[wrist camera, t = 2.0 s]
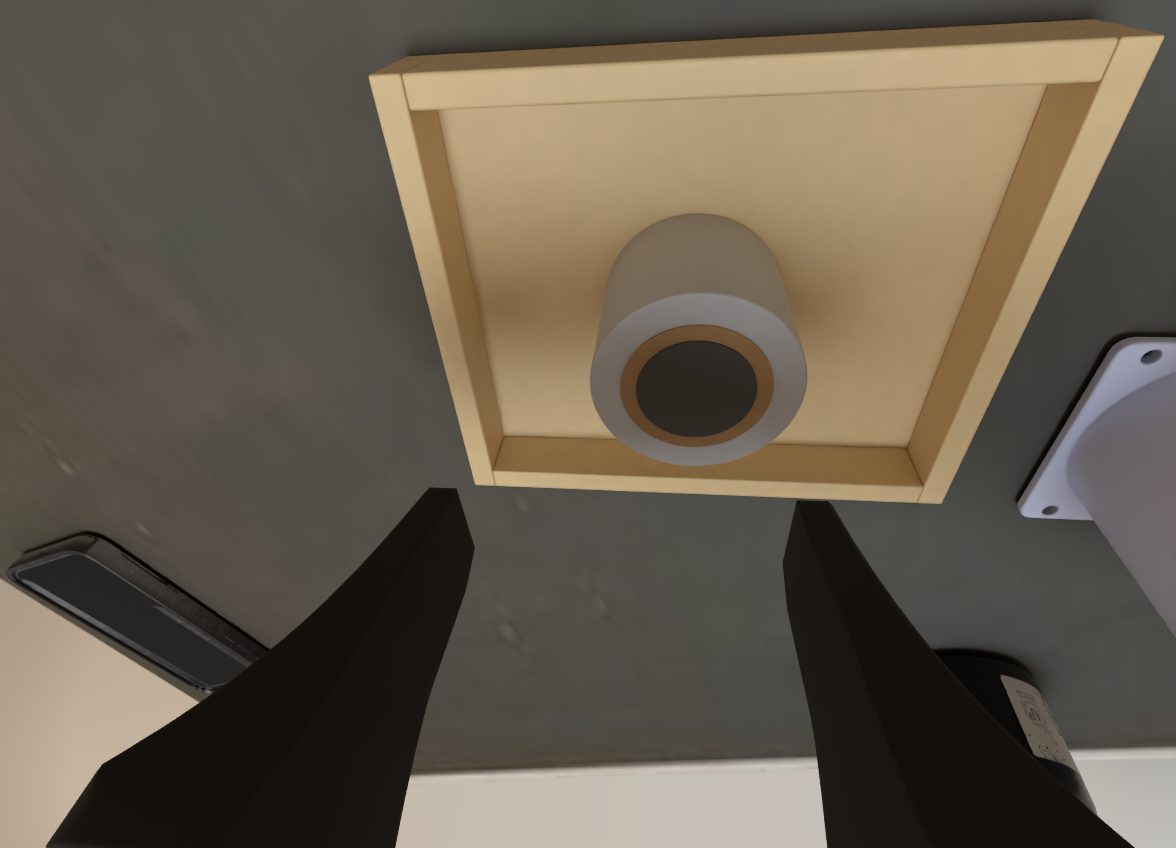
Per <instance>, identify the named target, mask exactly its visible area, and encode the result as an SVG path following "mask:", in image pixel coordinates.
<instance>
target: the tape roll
mask: <svg viewBox="0 0 1176 848" xmlns="http://www.w3.org/2000/svg"><path fill="white" fill-rule="evenodd" d="M807 379H808V376H807V364H806V359H805V355H804V351H803V348H802V345H801V341H800V338H799V334H798V331H797V328H796V324H795V321H794V318H793V314H792V311H791V308H790V304H789V301H788V298H787V294H786V291H785V288H784V284H783V281H782V278H781V274H780V271H779V268H778V265H777V263H776V260H775V258H774V256H773V254H772V252H771V251H770V249H769V248H768V246H767V245H766V244H765V243H764V242H763V240H762V239H761V238H760V237H758V236H757V235H756V234H755V233H754V232H753V231H751V230H750V229H748V228H747V227H745V226H744V225H741V224H739V223H737V222H735V221H733V220H730V219H727V218H724V217H720V216H715V215H708V214H690V215H682V216H677V217H672V218H669V219H666V220H663V221H661V222H658V223H656V224H654V225H652V226H650V227H648V228H647V229H645V230H644V231H642V232H641V233H639V234H638V235H637V236H636V237H635V238H633V239H632V240H631V241H630V242H629V243H628V244H627V245H626V247H625V248H624V249H623V250H622V251H621V253H620V254H619V256H618V257H617V259H616V261H615V263H614V265H613V267H612V269H611V272H610V275H609V278H608V282H607V287H606V292H605V298H604V303H603V308H602V313H601V319H600V324H599V329H598V335H597V340H596V345H595V350H594V356H593V361H592V366H591V372H590V390H591V397H592V400H593V403H594V406H595V409H596V411H597V413H598V415H599V417H600V419H601V420H602V422H603V423H604V425H605V426H606V427H607V429H608V430H609V431H610V432H611V433H612V434H613V435H614V436H615V437H616V438H617V439H618V440H620V441H621V442H622V443H623V444H625V445H626V446H628V447H629V448H631V449H632V450H634V451H636V452H638V453H640V454H642V455H644V456H647V457H649V458H652V459H655V460H658V461H662V462H665V463H671V464H677V465H688V466H703V465H713V464H719V463H724V462H729V461H732V460H735V459H739V458H741V457H744V456H746V455H749V454H751V453H753V452H755V451H757V450H759V449H761V448H762V447H764V446H765V445H767V444H768V443H770V442H771V441H773V440H774V439H775V438H776V437H777V436H778V435H780V434H781V433H782V432H783V431H784V430H785V429H786V427H787V426H788V425H789V424H790V423H791V421H792V420H793V418H794V417H795V415H796V414H797V412H798V410H799V408H800V406H801V404H802V402H803V399H804V395H805V392H806V387H807Z"/></svg>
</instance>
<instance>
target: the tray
mask: <svg viewBox="0 0 1176 848" xmlns="http://www.w3.org/2000/svg"><path fill="white" fill-rule="evenodd" d="M1163 39H1164V35H1162V34H1158V33H1153V32H1149V31H1145V30H1140V29H1136V28H1132V27H1127V26H1123V25H1118V24H1114V23H1110V22H1104V21H1100V20H1096V19H1086V20H1067V21H1049V22H1030V23H1012V24H993V25H975V26H956V27H938V28H920V29H901V30H883V31H864V32H846V33H827V34H809V35H790V36H772V37H754V38H735V39H717V40H698V41H680V42H661V43H643V44H624V45H606V46H588V47H569V48H551V49H532V50H514V51H495V52H477V53H458V54H440V55H422V56H407V57H405V58H403V59H401V60H399V61H397V62H395V63H393V64H391V65H389V66H387V67H385V68H383V69H381V70H379V71H377V72H374V73H372V74H370V75H369V81H370V84H371V88H372V92H373V96H374V100H375V104H376V107H377V111H378V115H379V119H380V123H381V126H382V130H383V134H384V138H385V142H386V146H387V149H388V153H389V157H390V161H391V165H392V168H393V172H394V176H395V180H396V184H397V187H398V191H399V195H400V199H401V203H402V207H403V210H404V214H405V218H406V222H407V226H408V229H409V233H410V237H411V241H412V245H413V249H414V252H415V256H416V260H417V264H418V268H419V271H420V275H421V279H422V283H423V287H424V291H425V294H426V298H427V302H428V306H429V310H430V313H431V317H432V321H433V325H434V329H435V333H436V336H437V340H438V344H439V348H440V352H441V355H442V359H443V363H444V367H445V371H446V374H447V378H448V382H449V386H450V390H451V394H452V397H453V401H454V405H455V409H456V413H457V416H458V420H459V424H460V428H461V432H462V436H463V439H464V443H465V447H466V451H467V455H468V458H469V462H470V466H471V470H472V474H473V478H474V481H475V484H476V485H491V486H494V485H495V484H496V485H497V486H518V487H542V488H567V489H592V490H616V491H641V492H665V493H690V494H714V495H739V496H764V497H788V498H813V499H837V500H862V501H887V502H911V503H916V502H918V503H932V504H941V503H942V501H943V499H944V497H945V495H946V493H947V491H948V489H949V487H950V485H951V482H952V480H953V478H954V476H955V474H956V472H957V470H958V468H959V466H960V464H961V462H962V459H963V457H964V455H965V453H966V451H967V449H968V447H969V445H970V443H971V441H972V439H973V436H974V434H975V432H976V430H977V428H978V426H979V424H980V422H981V420H982V418H983V416H984V413H985V411H986V409H987V407H988V405H989V403H990V401H991V399H992V397H993V395H994V392H995V390H996V388H997V386H998V384H999V382H1000V380H1001V378H1002V376H1003V374H1004V372H1005V369H1006V367H1007V365H1008V363H1009V361H1010V359H1011V357H1012V355H1013V353H1014V351H1015V349H1016V346H1017V344H1018V342H1019V340H1020V338H1021V336H1022V334H1023V332H1024V330H1025V328H1026V326H1027V323H1028V321H1029V319H1030V317H1031V315H1032V313H1033V311H1034V309H1035V307H1036V305H1037V303H1038V300H1039V298H1040V296H1041V294H1042V292H1043V290H1044V288H1045V286H1046V284H1047V282H1048V280H1049V277H1050V275H1051V273H1052V271H1053V269H1054V267H1055V265H1056V263H1057V261H1058V259H1059V257H1060V254H1061V252H1062V250H1063V248H1064V246H1065V244H1066V242H1067V240H1068V238H1069V236H1070V234H1071V231H1072V229H1073V227H1074V225H1075V223H1076V221H1077V219H1078V217H1079V215H1080V213H1081V211H1082V208H1083V206H1084V204H1085V202H1086V200H1087V198H1088V196H1089V194H1090V192H1091V190H1092V188H1093V185H1094V183H1095V181H1096V179H1097V177H1098V175H1099V173H1100V171H1101V169H1102V167H1103V165H1104V162H1105V160H1106V158H1107V156H1108V154H1109V152H1110V150H1111V148H1112V146H1113V144H1114V141H1115V139H1116V137H1117V135H1118V133H1119V131H1120V129H1121V127H1122V125H1123V123H1124V121H1125V118H1126V116H1127V114H1128V112H1129V110H1130V108H1131V106H1132V104H1133V102H1134V100H1135V98H1136V95H1137V93H1138V91H1139V89H1140V87H1141V85H1142V83H1143V81H1144V79H1145V77H1146V75H1147V72H1148V70H1149V68H1150V66H1151V64H1152V62H1153V60H1154V58H1155V56H1156V54H1157V52H1158V49H1159V47H1160V45H1161V43H1162V41H1163ZM690 214H708V215H715V216H720V217H724V218H727V219H730V220H733V221H735V222H737V223H739V224H741V225H744V226H745V227H747V228H748V229H750V230H751V231H753V232H754V233H755V234H756V235H757V236H758V237H760V238H761V239H762V240H763V242H764V243H765V244H766V245H767V246H768V248H769V249H770V251H771V252H772V254H773V256H774V258H775V260H776V263H777V265H778V268H779V271H780V274H781V278H782V281H783V284H784V288H785V291H786V294H787V298H788V301H789V304H790V308H791V311H792V314H793V318H794V321H795V324H796V328H797V331H798V334H799V338H800V341H801V345H802V348H803V351H804V355H805V359H806V364H807V376H808V379H807V387H806V392H805V395H804V399H803V402H802V404H801V406H800V408H799V410H798V412H797V414H796V415H795V417H794V418H793V420H792V421H791V423H790V424H789V425H788V426H787V427H786V429H785V430H784V431H783V432H782V433H781V434H780V435H778V436H777V437H776V438H775V439H774V440H773V441H771V442H770V443H768V444H767V445H765V446H764V447H762V448H761V449H759V450H757V451H755V452H753V453H751V454H749V455H746V456H744V457H741V458H739V459H735V460H732V461H729V462H724V463H719V464H713V465H703V466H688V465H677V464H671V463H665V462H662V461H658V460H655V459H652V458H649V457H647V456H644V455H642V454H640V453H638V452H636V451H634V450H632V449H631V448H629V447H628V446H626V445H625V444H623V443H622V442H621V441H620V440H618V439H617V438H616V437H615V436H614V435H613V434H612V433H611V432H610V431H609V430H608V429H607V427H606V426H605V425H604V423H603V422H602V420H601V419H600V417H599V415H598V413H597V411H596V409H595V406H594V403H593V400H592V397H591V390H590V372H591V366H592V361H593V356H594V350H595V345H596V340H597V335H598V329H599V324H600V319H601V313H602V308H603V303H604V298H605V292H606V287H607V282H608V278H609V275H610V272H611V269H612V267H613V265H614V263H615V261H616V259H617V257H618V256H619V254H620V253H621V251H622V250H623V249H624V248H625V247H626V245H627V244H628V243H629V242H630V241H631V240H632V239H633V238H635V237H636V236H637V235H638V234H639V233H641V232H642V231H644V230H645V229H647V228H648V227H650V226H652V225H654V224H656V223H658V222H661V221H663V220H666V219H669V218H672V217H677V216H682V215H690Z"/></svg>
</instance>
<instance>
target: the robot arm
mask: <svg viewBox="0 0 1176 848" xmlns="http://www.w3.org/2000/svg"><path fill="white" fill-rule="evenodd" d="M1152 350H1153V351H1152ZM1149 351H1152V352H1151V353H1150V354H1148V355H1146V356H1144V357H1142V356H1143V355H1144V354H1145V353H1147V352H1149ZM1017 507H1018V509H1019V511H1020V513H1021V514H1022V515H1023V516H1025V517H1030V518H1052V519H1075V520H1094V522H1095V523H1096V525H1097V526H1098V527H1099V529H1100V530H1101V532H1102V533H1103V535H1104V536H1105V537H1106V539H1107V540H1108V542H1109V543H1110V545H1111V546H1112V547H1113V549H1114V550H1115V552H1116V553H1117V555H1118V556H1119V557H1120V559H1121V560H1122V562H1123V563H1124V565H1125V566H1126V567H1127V569H1128V570H1129V572H1130V573H1131V575H1132V576H1133V577H1134V579H1135V580H1136V582H1137V583H1138V585H1139V586H1140V587H1141V589H1142V590H1143V592H1144V593H1145V595H1146V596H1147V597H1148V599H1149V600H1150V602H1151V603H1152V605H1153V606H1154V607H1155V609H1156V610H1157V612H1158V613H1159V615H1160V616H1161V617H1162V619H1163V620H1164V622H1165V623H1166V625H1167V626H1168V627H1169V629H1170V630H1171V632H1172V633H1173V635H1174V636H1175V637H1176V337H1131V338H1126V339H1124V340H1121V341H1119V342H1118V343H1116V344H1115V345H1113V347H1112V348H1111V349H1110V350H1109V352H1108V353H1107V355H1106V357H1105V358H1104V360H1103V362H1102V363H1101V365H1100V367H1099V368H1098V370H1097V372H1096V373H1095V375H1094V377H1093V378H1092V380H1091V382H1090V383H1089V385H1088V387H1087V388H1086V390H1085V392H1084V393H1083V395H1082V397H1081V398H1080V400H1079V402H1078V403H1077V405H1076V407H1075V408H1074V410H1073V412H1072V413H1071V415H1070V417H1069V418H1068V420H1067V422H1066V423H1065V425H1064V427H1063V428H1062V430H1061V432H1060V433H1059V435H1058V437H1057V438H1056V440H1055V442H1054V443H1053V445H1052V447H1051V448H1050V450H1049V452H1048V453H1047V455H1046V457H1045V458H1044V460H1043V462H1042V463H1041V465H1040V467H1039V468H1038V470H1037V472H1036V473H1035V475H1034V477H1033V478H1032V480H1031V482H1030V483H1029V485H1028V487H1027V488H1026V490H1025V492H1024V493H1023V495H1022V497H1021V498H1020V500H1019V502H1018V504H1017ZM474 549H475V547H474V544H473V541H472V537H471V534H470V531H469V528H468V524H467V521H466V518H465V515H464V511H463V508H462V505H461V502H460V499H459V495H458V492H457V489H456V488H429V489H428V490H427V491H426V492H425V493H424V494H423V496H422V497H421V498H420V499H419V500H418V501H417V502H416V504H415V505H414V506H413V507H412V508H411V509H410V511H409V512H408V513H407V514H406V515H405V516H404V518H403V519H402V520H401V521H400V522H399V523H398V525H397V526H396V527H395V528H394V529H393V530H392V531H391V533H390V534H389V535H388V536H387V537H386V538H385V539H384V540H383V542H382V543H381V544H380V545H379V546H378V547H377V548H376V549H375V550H374V551H373V553H372V554H371V555H370V556H369V557H368V558H367V559H366V560H365V561H364V562H363V564H362V565H361V566H360V567H359V568H358V569H357V570H356V571H355V572H354V573H353V574H352V575H351V576H350V577H349V578H348V579H347V580H346V581H345V582H344V583H343V584H342V585H341V586H340V587H339V588H338V589H337V590H336V591H335V592H334V593H333V594H332V595H331V596H330V597H329V598H328V599H327V600H326V601H325V602H324V603H323V604H322V605H321V606H320V607H319V608H318V609H317V610H315V611H314V612H313V613H312V614H311V615H310V616H309V617H308V618H307V619H306V620H305V621H303V622H302V623H301V624H300V625H299V626H298V627H297V628H295V629H294V630H293V631H292V632H291V633H290V634H289V635H288V636H286V637H285V638H284V639H283V640H282V641H280V642H279V643H278V644H277V645H275V646H274V647H273V648H272V649H271V650H269V651H268V652H267V653H266V654H264V655H263V656H262V657H261V658H259V659H258V660H257V661H255V662H254V663H253V664H252V665H250V666H249V667H248V668H247V669H245V670H244V671H243V672H241V673H240V674H239V675H238V676H236V677H235V678H234V679H232V680H231V681H230V682H228V683H227V684H225V685H224V686H222V687H221V688H220V689H218V690H217V691H215V692H214V693H213V694H211V695H210V696H208V697H207V698H206V699H204V700H203V701H201V702H200V703H198V704H197V705H196V706H194V707H193V708H191V709H190V710H188V711H187V712H185V713H184V714H182V715H181V716H179V717H178V718H176V719H175V720H173V721H172V722H170V723H169V724H167V725H166V726H164V727H162V728H161V729H160V730H158V731H156V732H154V733H153V734H151V735H149V736H148V737H146V738H145V739H143V740H141V741H140V742H138V743H136V744H135V745H133V746H132V747H130V748H128V749H127V750H125V751H124V752H122V753H120V754H119V755H117V756H115V757H114V758H112V759H110V760H109V761H107V762H105V763H103V764H102V765H101V767H100V768H99V770H98V771H97V772H96V774H95V775H94V776H93V778H92V779H91V781H90V782H89V784H88V785H87V787H86V788H85V790H84V791H83V793H82V794H81V795H80V797H79V798H78V800H77V801H76V803H75V805H74V806H73V807H72V809H71V810H70V811H69V813H68V814H67V816H66V817H65V819H64V820H63V822H62V823H61V825H60V826H59V828H58V829H57V830H56V832H55V834H54V835H53V836H52V838H51V839H50V841H49V842H48V844H47V845H46V848H395V846H396V840H397V836H398V830H399V826H400V820H401V816H402V811H403V806H404V801H405V796H406V791H407V787H408V782H409V778H410V773H411V769H412V764H413V760H414V755H415V751H416V747H417V743H418V739H419V735H420V730H421V726H422V722H423V718H424V714H425V710H426V706H427V703H428V699H429V696H430V693H431V690H432V686H433V683H434V681H435V678H436V675H437V672H438V669H439V666H440V663H441V661H442V658H443V655H444V652H445V649H446V646H447V643H448V641H449V638H450V635H451V632H452V629H453V626H454V623H455V620H456V618H457V615H458V612H459V609H460V606H461V603H462V600H463V597H464V594H465V591H466V586H467V582H468V578H469V573H470V568H471V564H472V559H473V554H474ZM783 570H784V581H785V592H786V601H787V610H788V615H789V620H790V624H791V629H792V634H793V638H794V643H795V648H796V652H797V657H798V661H799V666H800V670H801V675H802V679H803V684H804V688H805V693H806V697H807V702H808V707H809V711H810V716H811V721H812V727H813V732H814V738H815V745H816V753H817V761H818V769H819V778H820V786H821V794H822V802H823V812H824V821H825V831H826V840H827V848H1134V847H1133V846H1132V845H1131V844H1130V843H1129V842H1127V841H1126V840H1125V839H1124V838H1122V837H1121V836H1120V835H1119V834H1118V833H1116V832H1115V831H1114V830H1113V829H1112V828H1111V827H1109V826H1108V825H1107V824H1106V823H1105V822H1104V821H1103V820H1101V819H1100V818H1099V817H1098V816H1097V815H1096V814H1094V813H1093V812H1092V811H1091V810H1090V809H1089V808H1088V807H1087V806H1085V805H1084V804H1083V803H1082V802H1081V801H1080V800H1079V799H1078V798H1077V797H1076V796H1074V795H1073V794H1072V793H1071V792H1070V791H1069V790H1068V789H1067V788H1066V787H1065V786H1063V785H1062V784H1061V783H1060V782H1059V781H1058V780H1057V779H1056V778H1055V777H1053V776H1052V775H1051V774H1050V773H1049V772H1048V771H1047V770H1046V769H1045V768H1044V767H1043V766H1042V765H1041V764H1040V763H1039V762H1038V761H1037V760H1036V759H1035V758H1034V757H1033V756H1032V755H1031V754H1030V753H1029V752H1028V751H1027V750H1026V749H1025V748H1024V747H1023V746H1022V745H1021V744H1020V743H1019V742H1017V741H1016V740H1015V739H1014V738H1013V737H1012V736H1011V735H1010V734H1009V733H1008V732H1007V731H1006V730H1005V729H1004V728H1003V727H1002V726H1001V725H1000V724H999V723H998V722H997V721H996V720H995V719H994V718H993V717H992V716H991V715H990V714H989V713H988V711H987V710H986V709H985V708H984V707H983V706H982V705H981V704H980V703H979V702H978V701H977V700H976V699H975V698H974V697H973V695H972V694H971V693H970V692H969V691H968V690H967V689H966V688H965V687H964V686H963V685H962V683H961V682H960V681H959V680H958V679H957V678H956V677H955V676H954V674H953V673H952V672H951V671H950V670H949V669H948V668H947V666H946V665H945V664H944V663H943V662H942V661H941V659H940V658H939V657H938V656H937V655H936V653H935V652H934V651H933V650H932V649H931V647H930V646H929V645H928V644H927V643H926V641H925V640H924V639H923V638H922V636H921V635H920V634H919V632H918V631H917V630H916V629H915V627H914V626H913V625H912V624H911V622H910V621H909V620H908V618H907V617H906V616H905V614H904V613H903V612H902V610H901V609H900V608H899V606H898V605H897V604H896V602H895V601H894V600H893V598H892V597H891V595H890V594H889V593H888V591H887V590H886V588H885V587H884V585H883V584H882V583H881V581H880V580H879V578H878V577H877V576H876V574H875V573H874V571H873V570H872V568H871V567H870V565H869V564H868V562H867V561H866V559H865V558H864V556H863V555H862V553H861V552H860V550H859V548H858V547H857V545H856V544H855V542H854V541H853V539H852V537H851V536H850V534H849V532H848V531H847V529H846V528H845V526H844V524H843V523H842V521H841V519H840V517H839V516H838V514H837V512H836V510H835V509H834V507H833V505H832V504H831V503H829V502H828V501H802V500H797V502H796V507H795V511H794V515H793V520H792V524H791V529H790V533H789V537H788V542H787V546H786V551H785V555H784V559H783Z"/></svg>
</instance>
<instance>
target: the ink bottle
mask: <svg viewBox="0 0 1176 848" xmlns="http://www.w3.org/2000/svg"><path fill="white" fill-rule="evenodd" d="M938 657H939V658H940V659H941V661H942V662H943V663H944V664H945V665H946V666H947V668H948V669H949V670H950V671H951V672H952V673H953V674H954V676H955V677H956V678H957V679H958V680H959V681H960V682H961V683H962V685H963V686H964V687H965V688H966V689H967V690H968V691H969V692H970V693H971V694H972V695H973V697H974V698H975V699H976V700H977V701H978V702H979V703H980V704H981V705H982V706H983V707H984V708H985V709H986V710H987V711H988V713H989V714H990V715H991V716H992V717H993V718H994V719H995V720H996V721H997V722H998V723H999V724H1000V725H1001V726H1002V727H1003V728H1004V729H1005V730H1006V731H1007V732H1008V733H1009V734H1010V735H1011V736H1012V737H1013V738H1014V739H1015V740H1016V741H1017V742H1019V743H1020V744H1021V745H1022V746H1023V747H1024V748H1025V749H1026V750H1027V751H1028V752H1029V753H1030V754H1031V755H1032V756H1033V757H1034V758H1035V759H1036V760H1037V761H1038V762H1039V763H1040V764H1041V765H1042V766H1043V767H1044V768H1045V769H1046V770H1047V771H1048V772H1049V773H1050V774H1051V775H1052V776H1053V777H1055V778H1056V779H1057V780H1058V781H1059V782H1060V783H1061V784H1062V785H1063V786H1065V787H1066V788H1067V789H1068V790H1069V791H1070V792H1071V793H1072V794H1073V795H1074V796H1076V797H1077V798H1078V799H1079V800H1080V801H1081V802H1082V803H1083V804H1084V805H1085V806H1087V807H1088V808H1089V809H1090V810H1091V811H1092V812H1093V813H1094V814H1096V815H1097V812H1096V808H1095V806H1094V803H1093V801H1092V799H1091V797H1090V795H1089V792H1088V790H1087V788H1086V786H1085V784H1084V782H1083V780H1082V777H1081V775H1080V773H1079V771H1078V769H1077V767H1076V765H1075V763H1074V760H1073V758H1072V756H1071V754H1070V752H1069V750H1068V748H1067V746H1066V744H1065V742H1064V739H1063V737H1062V735H1061V733H1060V731H1059V729H1058V727H1057V725H1056V723H1055V720H1054V718H1053V716H1052V714H1051V712H1050V710H1049V708H1048V706H1047V704H1046V702H1045V699H1044V697H1043V696H1042V693H1041V691H1040V689H1039V687H1038V685H1037V684H1036V682H1035V681H1034V679H1033V678H1032V677H1031V676H1030V675H1029V674H1028V673H1027V672H1026V671H1025V670H1023V669H1022V668H1020V667H1018V666H1016V665H1014V664H1012V663H1009V662H1006V661H1002V660H998V659H994V658H988V657H980V656H966V655H949V656H938Z"/></svg>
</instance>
